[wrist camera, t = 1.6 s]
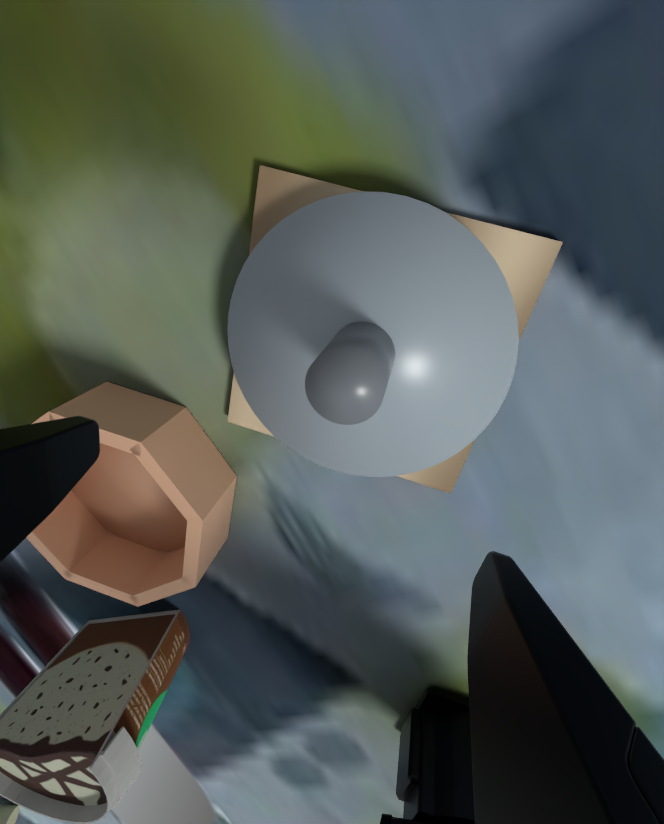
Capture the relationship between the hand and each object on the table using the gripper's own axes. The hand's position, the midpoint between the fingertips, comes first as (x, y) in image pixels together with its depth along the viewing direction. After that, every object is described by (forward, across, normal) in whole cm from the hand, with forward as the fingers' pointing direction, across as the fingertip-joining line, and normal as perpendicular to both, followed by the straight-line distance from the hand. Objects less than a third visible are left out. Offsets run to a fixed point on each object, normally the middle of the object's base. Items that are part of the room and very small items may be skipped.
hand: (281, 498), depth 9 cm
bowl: (+12, +11, +12) cm, 20 cm away
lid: (+11, 0, 0) cm, 11 cm away
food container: (+12, +10, +28) cm, 32 cm away
